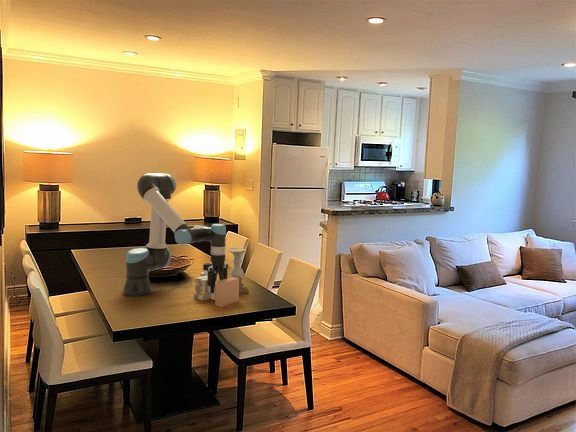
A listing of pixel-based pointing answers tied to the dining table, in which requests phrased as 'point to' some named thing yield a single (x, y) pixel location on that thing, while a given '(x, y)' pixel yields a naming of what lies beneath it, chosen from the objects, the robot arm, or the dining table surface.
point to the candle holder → (238, 268)
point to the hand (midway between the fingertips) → (217, 297)
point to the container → (205, 270)
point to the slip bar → (208, 287)
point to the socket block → (227, 291)
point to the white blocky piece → (201, 288)
